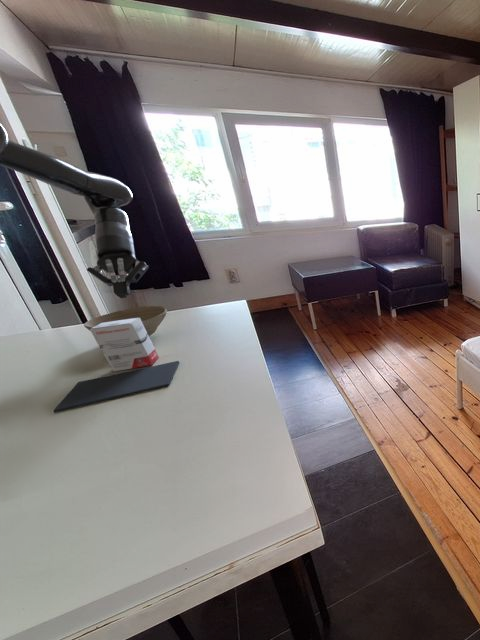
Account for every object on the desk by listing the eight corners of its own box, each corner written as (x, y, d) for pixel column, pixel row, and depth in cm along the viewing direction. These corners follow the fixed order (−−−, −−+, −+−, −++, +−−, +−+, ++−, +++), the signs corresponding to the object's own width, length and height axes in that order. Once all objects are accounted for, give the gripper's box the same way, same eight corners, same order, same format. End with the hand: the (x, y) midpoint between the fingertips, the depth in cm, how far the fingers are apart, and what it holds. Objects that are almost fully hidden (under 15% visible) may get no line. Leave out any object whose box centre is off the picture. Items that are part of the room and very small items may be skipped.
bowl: (178, 322, 120) (168, 300, 117) (173, 342, 106) (161, 317, 102) (105, 337, 112) (92, 313, 108) (90, 360, 98) (74, 333, 94)
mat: (54, 412, 76) (52, 410, 76) (79, 384, 87) (78, 381, 86) (169, 385, 84) (168, 383, 84) (179, 362, 94) (178, 360, 94)
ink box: (159, 357, 98) (140, 316, 92) (152, 365, 94) (131, 323, 88) (121, 363, 95) (99, 321, 90) (112, 372, 91) (88, 329, 86)
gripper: (75, 236, 95) (81, 294, 91) (137, 231, 100) (146, 284, 96) (92, 253, 102) (99, 307, 98) (150, 247, 107) (159, 298, 103)
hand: (122, 296), depth 97 cm, fingers closed
